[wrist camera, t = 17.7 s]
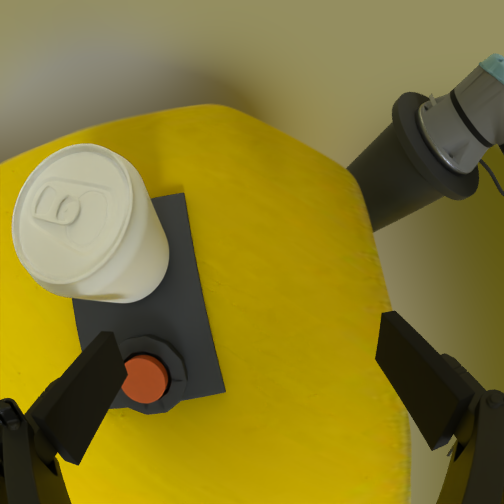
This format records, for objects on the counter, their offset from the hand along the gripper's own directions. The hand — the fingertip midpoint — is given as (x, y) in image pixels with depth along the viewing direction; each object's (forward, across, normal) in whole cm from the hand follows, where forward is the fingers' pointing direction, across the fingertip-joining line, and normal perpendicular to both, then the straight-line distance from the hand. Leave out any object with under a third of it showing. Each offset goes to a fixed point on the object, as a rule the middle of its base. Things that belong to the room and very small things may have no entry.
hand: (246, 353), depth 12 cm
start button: (+6, -9, -6) cm, 12 cm away
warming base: (+10, -10, -2) cm, 14 cm away
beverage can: (+11, -10, +3) cm, 15 cm away
